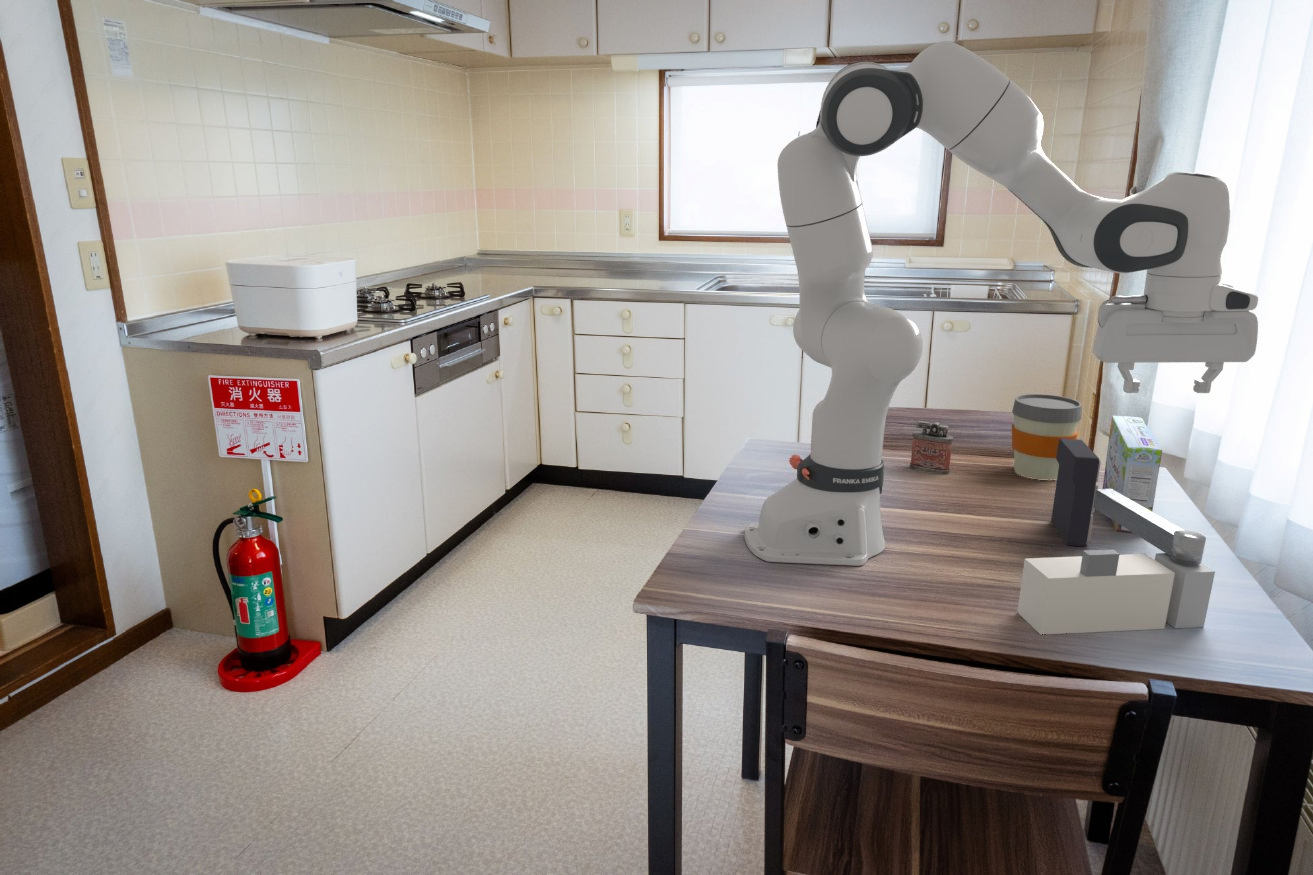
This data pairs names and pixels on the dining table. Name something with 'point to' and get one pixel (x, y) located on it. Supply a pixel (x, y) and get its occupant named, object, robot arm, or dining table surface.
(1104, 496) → the swing bar
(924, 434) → the lighter
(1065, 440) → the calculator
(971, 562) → the dining table surface
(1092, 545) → the dining table surface
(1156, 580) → the door slab
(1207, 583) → the post
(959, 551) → the dining table surface
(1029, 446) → the reusable coffee cup
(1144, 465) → the snack box
